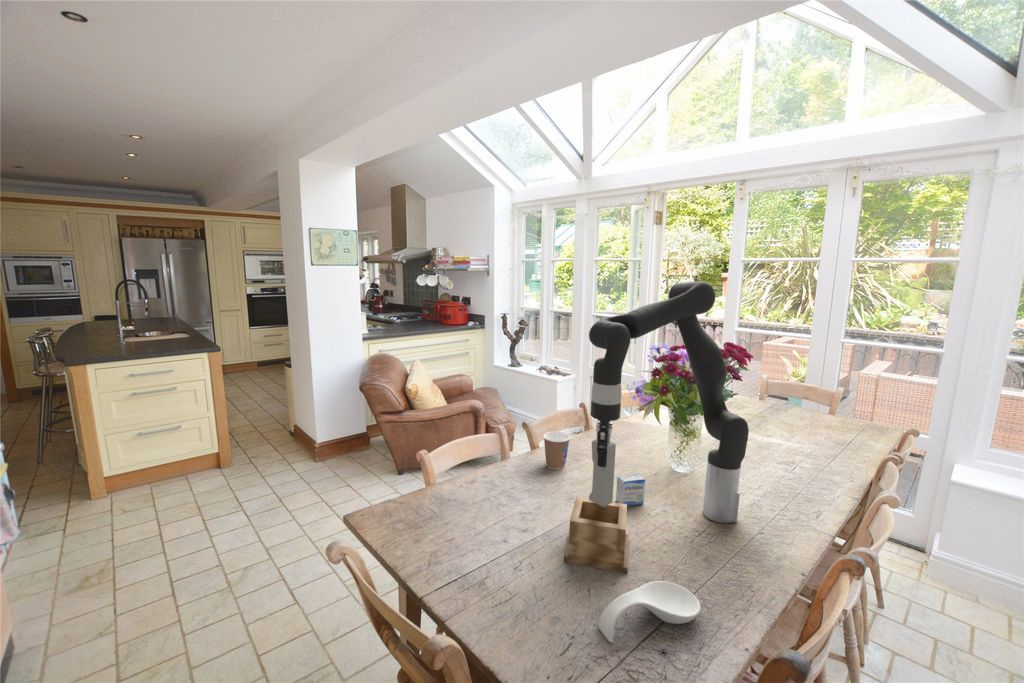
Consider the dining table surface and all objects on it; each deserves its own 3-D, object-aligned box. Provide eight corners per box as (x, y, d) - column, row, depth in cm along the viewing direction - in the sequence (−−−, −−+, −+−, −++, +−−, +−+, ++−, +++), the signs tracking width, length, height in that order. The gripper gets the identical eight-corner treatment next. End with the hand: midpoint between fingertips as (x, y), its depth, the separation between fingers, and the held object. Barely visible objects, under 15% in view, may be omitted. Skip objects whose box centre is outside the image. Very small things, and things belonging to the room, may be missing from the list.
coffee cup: (567, 473, 167) (569, 442, 166) (540, 470, 169) (541, 439, 168) (569, 461, 177) (571, 432, 175) (544, 459, 179) (545, 430, 177)
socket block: (628, 539, 127) (630, 503, 125) (627, 573, 112) (629, 532, 111) (571, 529, 131) (573, 494, 129) (563, 561, 116) (565, 522, 115)
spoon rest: (671, 588, 108) (674, 561, 106) (711, 624, 97) (714, 594, 96) (588, 618, 98) (589, 588, 97) (622, 660, 87) (624, 628, 86)
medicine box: (622, 507, 144) (623, 482, 143) (615, 500, 148) (616, 475, 147) (643, 504, 146) (645, 479, 145) (636, 497, 150) (638, 473, 149)
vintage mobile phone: (597, 496, 123) (602, 407, 119) (612, 503, 119) (617, 412, 115) (588, 500, 120) (593, 410, 116) (603, 508, 116) (608, 415, 112)
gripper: (620, 408, 107) (616, 475, 110) (621, 393, 121) (618, 452, 123) (588, 405, 109) (585, 471, 112) (593, 390, 123) (590, 449, 125)
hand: (602, 461), depth 118 cm, fingers closed on vintage mobile phone, 5 cm apart
